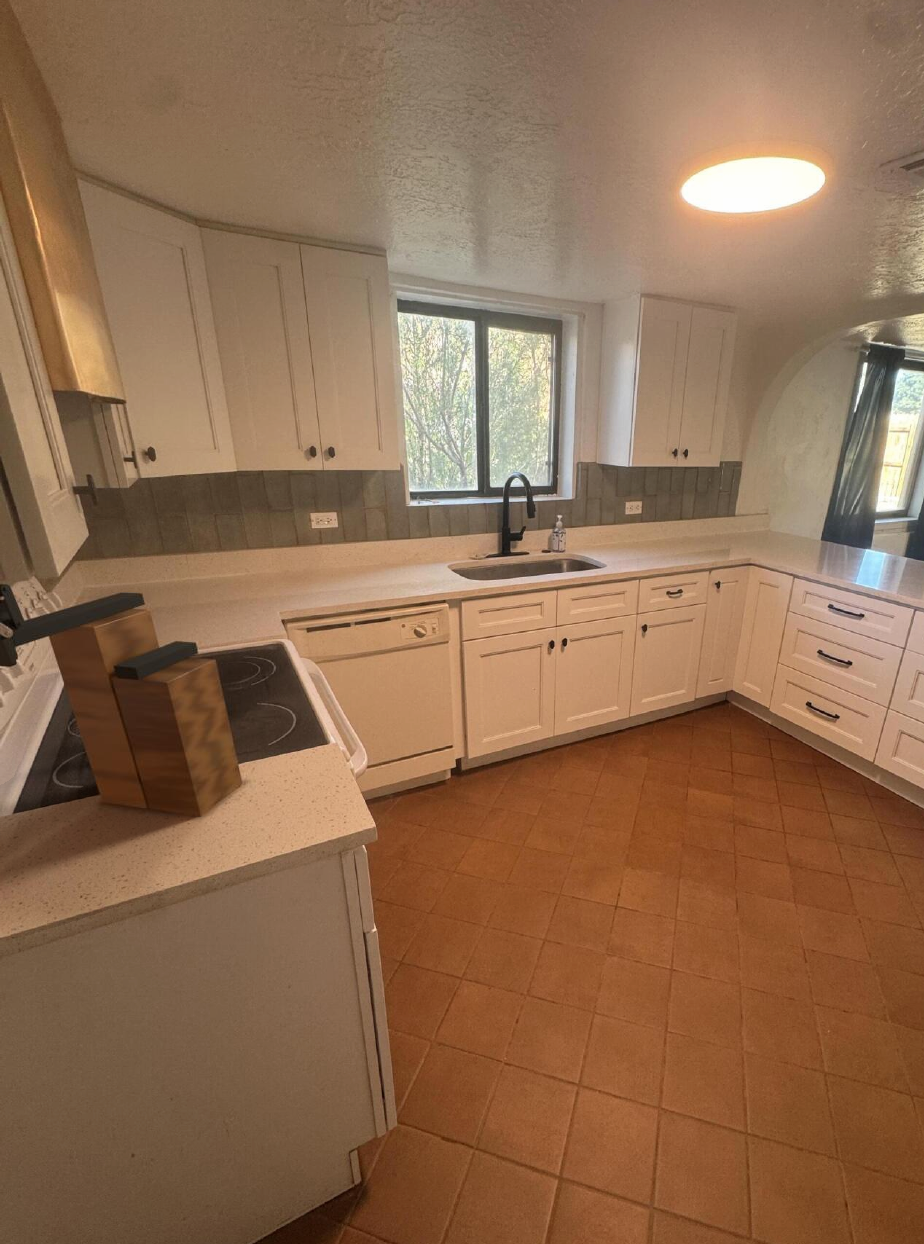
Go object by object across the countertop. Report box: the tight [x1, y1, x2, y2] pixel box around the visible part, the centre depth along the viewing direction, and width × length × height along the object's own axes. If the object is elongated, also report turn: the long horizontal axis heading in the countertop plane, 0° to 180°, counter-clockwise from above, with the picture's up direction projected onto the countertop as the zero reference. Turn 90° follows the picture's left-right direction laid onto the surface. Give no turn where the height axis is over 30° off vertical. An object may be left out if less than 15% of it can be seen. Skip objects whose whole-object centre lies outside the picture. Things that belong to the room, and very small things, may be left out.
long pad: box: [12, 592, 146, 648], centre depth 86 cm, size 22×4×2 cm, turn 172°
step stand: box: [48, 608, 243, 817], centre depth 95 cm, size 10×20×32 cm, turn 79°
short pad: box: [113, 640, 199, 680], centre depth 92 cm, size 12×4×2 cm, turn 169°
